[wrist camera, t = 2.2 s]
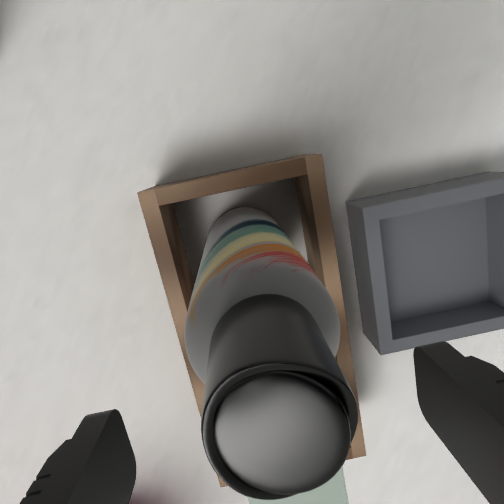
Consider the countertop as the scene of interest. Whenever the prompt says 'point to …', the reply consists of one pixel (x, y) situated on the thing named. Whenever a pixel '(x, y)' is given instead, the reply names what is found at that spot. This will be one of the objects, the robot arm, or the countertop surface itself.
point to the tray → (430, 261)
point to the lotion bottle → (267, 362)
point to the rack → (315, 233)
